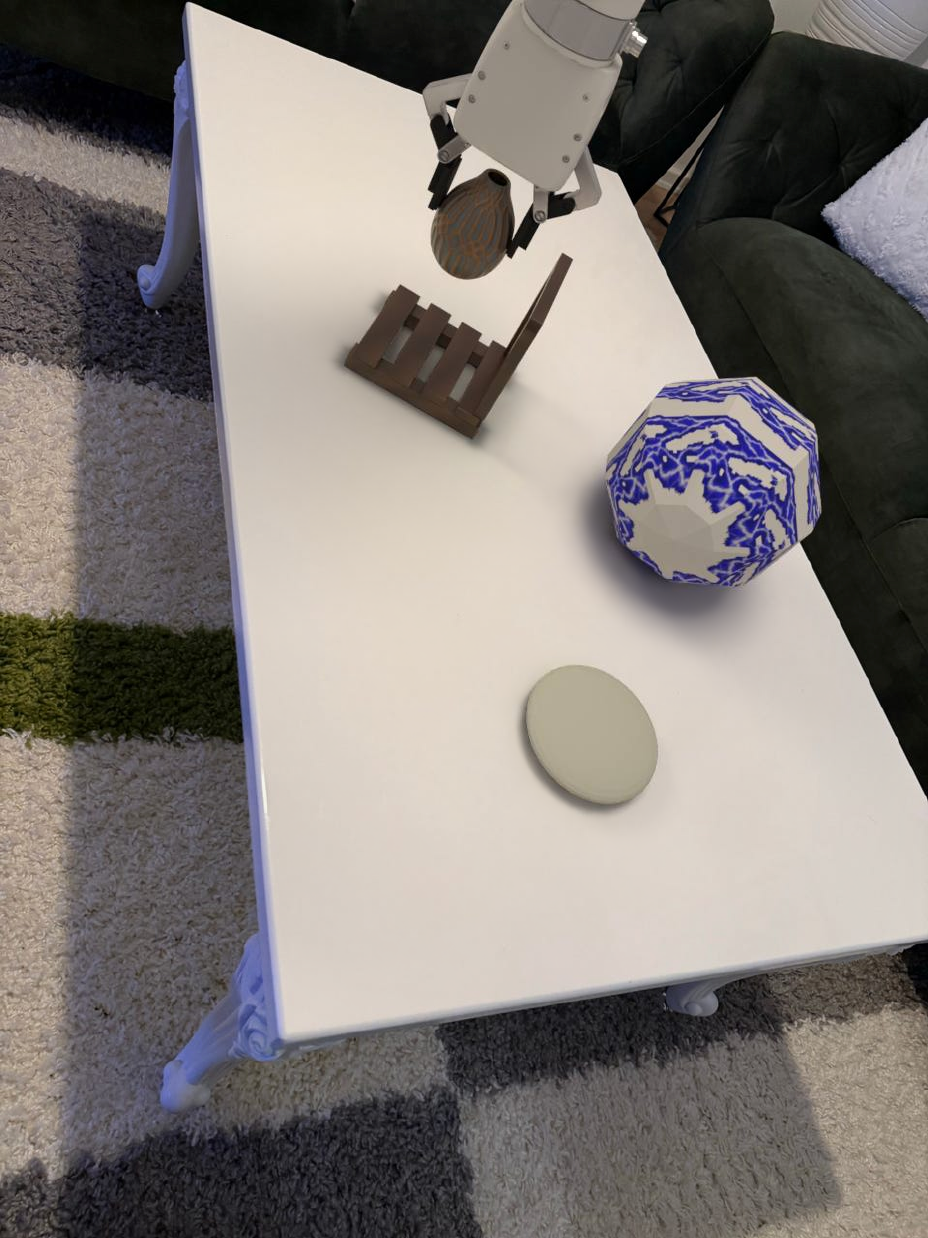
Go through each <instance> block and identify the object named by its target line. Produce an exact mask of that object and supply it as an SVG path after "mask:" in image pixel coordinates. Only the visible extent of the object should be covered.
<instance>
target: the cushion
mask: <svg viewBox="0 0 928 1238" xmlns="http://www.w3.org/2000/svg"><path fill="white" fill-rule="evenodd" d="M525 721H526V723H525V724H526V729H527V735H528V738H529V742H530V744H531V747H532V750H533V752H534V753H535V754H534V755H535V756H536V757H537V760H538V761H539V762H540V764H541V766H542V767H543V769H544V770H545V771H546V772H547V773H548V775H549V776H550V777H551V778H552V779H553V780H554V781H555V782H556V783H557V784H559V786H561V787H562V788H563V789H564V790H566V791H568V792H569V793H571V794H572V795H574V796H576V797H578V798H580V799H583V800H586V801H588V802H592V803H596V804H604V805H611V804H612V805H614V804H619V803H624V802H627V801H629V800H632V799H633V798H635V797H637V796H639V795H640V794H641V793H642V792H643V791H644V790H645V789H646V788H647V786H648V785H649V784H650V782H651V781H652V779H653V777H654V775H655V772H656V769H657V764H658V757H659V748H658V747H659V745H658V738H657V735H656V730H655V727H654V725H653V722H652V719H651V718H650V714H649V713H648V712H647V710H646V708H645V706H644V704H643V703H642V702H641V701H640V699H639V698H638V697H637V696H636V694H635V693H634V692H633V691H632V690H631V689H630V688H629V687H628V686H627V685H626V684H624V683H623V682H622V681H621V680H620V679H618V678H617V677H615V676H614V675H612V674H611V673H608V672H606V671H604V670H602V669H599V668H597V667H594V666H590V665H582V664H569V665H563V666H559V667H557V668H555V669H552V670H550V671H548V672H546V673H545V674H544V675H543V676H542V677H540V679H539V680H537V683H536V684H535V685H534V687H533V689H532V690H531V692H530V695H529V697H528V701H527V705H526V713H525Z"/></svg>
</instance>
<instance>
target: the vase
mask: <svg viewBox="0 0 928 1238" xmlns="http://www.w3.org/2000/svg"><path fill="white" fill-rule="evenodd" d="M511 190H512V183H511V180H510V178H509V177H508V176H507V174H505V173H504V172H502V171H501V170H499V169H497V168H491V167H490V168H486V169H485V170H483V171H482V172H481V173H480V174H478V175H477V176H475V177H473V178H469V179H468V180H465V181H463V182H460V183H458V184H457V185H455V186H454V187H453V188H452V189H451V190H449V191H448V193H447V195H446V196H445V198H444V199H443V200H442V202H441V204H440V205H439V207H438V208H437V210H435V213H434V216H433V220H432V222H431V228H430V247H431V251H432V254H433V256H434V258H435V260H436V262H437V264H438V266H439V267H440V268H441V269H442V270H443V271H444V272H445V273H447V274H448V275H450V276H451V277H453V278H456V279H458V280H463V281H469V280H477V279H480V278H483V277H485V276H487V275H488V274H490V273H491V272H492V271H494V270H495V269H496V268H497V267H498V266H499V265H500V264H501V263H502V261H503V260H504V259H505V257H506V256H507V254H505V253H506V251H507V249H508V247H509V245H510V243H511V241H512V240H513V238H514V235H515V234H514V233H515V227H516V215H515V211H514V210H515V209H514V205H513V200H512V195H511V194H512V193H511V192H512V191H511Z"/></svg>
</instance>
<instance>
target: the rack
mask: <svg viewBox="0 0 928 1238" xmlns="http://www.w3.org/2000/svg"><path fill="white" fill-rule="evenodd" d="M573 261H574V259H573V258H572V257H570V256H569V255H567V254H566V253H565V252H561V254H560V256H559V257H558V259H557V261H556V262H555V264H554V266H553V267H552V269H551V271H550V272H549V274H548V276H547V278H546V279H545V281H544V283H543V285H542V286H541V288H540V289H539V291H538V293H537V294H536V296H535V298H534V300H533V302H532V303H531V305H530V306H529V308H528V310H527V312H526V313H525V315H524V317H523V318H522V320H521V322H520V324H519V325H518V327H517V328H516V330H515V332H514V334H513V335H512V337H511V339H510V341H509V342H508V344H507V346H504V345H503V344H500V343H499V342H498V341H495V340H494V339H492V340H491V342H490V343H489V345H487V344H485V343H483V342H481V340H480V339H481V337H482V336H483V333H482V332H480V331H479V330H477V329H476V328H474V327H473V326H471V325H469V324H467V323H465V322H464V321H461V322H460V324H459V326H458V327H457V326H454V324H452V323H450V320H451V318H452V314H451V313H449V312H448V311H446V310H444V309H443V308H441V307H440V306H438V305H436V304H435V303H433V302H431V303H430V304H429V305H428V307H427V308H425V307H423V306H422V305H420V304H418V303H419V302H420V300H421V298H422V297H421V295H419V294H418V293H416V292H414V291H413V290H411V289H409V288H407V287H406V286H404V285H403V284H401V283H400V284H398V285H397V288H396V289H392V290H391V292H390V294H389V295H388V296H387V298H386V299H385V301H384V304H383V305H382V306H383V307H382V308H381V311H380V312H379V313H378V315H377V316H376V318H375V319H374V320H373V322H372V324H371V325H370V326H369V328H368V329H367V331H365V334H364V335H363V336H362V338H361V340H360V341H359V342H355V343H354V345H353V347H352V348H351V349H350V351H348V354H347V356H346V359H345V361H344V364H343V365H344V366H345V367H347V368H348V369H350V370H351V371H353V372H355V373H357V374H359V375H361V376H362V377H364V378H366V379H368V380H369V381H371V382H373V383H374V384H376V385H378V386H379V387H381V388H383V389H385V390H387V391H388V392H390V393H392V394H393V395H395V396H397V397H398V398H399V399H402V400H403V401H406V402H407V403H408V404H411V406H414V407H416V408H417V409H419V410H421V411H423V412H425V413H426V414H428V415H429V416H431V417H434V418H435V419H436V420H438V421H440V422H442V423H443V424H445V425H447V426H448V427H450V428H451V429H454V430H455V431H457V432H459V433H461V434H462V435H464V436H466V437H468V438H469V439H471V440H473V439H474V438H475V436H476V435H477V433H478V431H479V430H480V428H481V425H482V423H483V422H484V421H485V420H486V418H487V416H488V415H489V413H490V412H491V410H492V409H493V407H494V405H495V404H496V402H497V401H498V398H499V397H500V395H501V394H502V392H503V391H504V389H505V387H506V385H507V384H508V383H509V381H510V379H511V378H512V376H513V374H514V373H515V371H516V369H517V368H518V366H519V365H520V363H521V361H522V360H523V358H524V357H525V355H526V353H527V352H528V350H529V348H530V346H531V345H532V344H533V342H534V341H535V339H536V337H537V335H538V334H539V332H540V330H541V329H542V327H543V326H544V324H545V321H546V320H547V317H548V314H549V313H550V311H551V308H552V307H553V304H554V303H555V300H556V297H557V295H558V293H559V291H560V289H561V287H562V285H563V283H564V281H565V278H566V276H567V275H568V272H569V270H570V268H571V265H572V264H573ZM404 326H407V327H408V328H410V329H412V330H413V331H412V333H410V335H409V337H408V339H407V340H406V341H405V343H404V345H403V347H402V348H401V349H400V351H399V353H398V354H397V356H396V357H395V359H394V361H393V362H392V361H389V360H387V359H386V358H385V357H384V356H385V354H386V353H387V351H388V350H389V349H390V347H391V345H392V344H393V342H394V341H395V340H396V337H397V336H398V334H399V333H400V332H401V330H402V328H403V327H404ZM436 344H438V345H439V346H441V347H442V348H444V349H445V350H444V352H443V354H442V355H441V357H440V358H439V361H438V362H437V364H436V366H435V367H434V369H433V371H432V373H431V374H430V376H429V378H428V379H427V382H425V381H424V380H422V379H420V378H418V377H417V376H418V375H419V372H420V371H421V369H422V367H423V366H424V364H425V362H426V361H427V359H428V357H429V356H430V354H431V352H432V351H433V349H434V347H435V346H436ZM468 363H469V364H471V365H472V366H474V367H475V368H476V371H475V372H474V373H473V376H472V378H471V379H470V381H469V384H468V385H467V387H466V390H465V391H464V393H463V395H462V397H461V399H460V400H459V401H457V400H456V399H454V398H453V397H451V396H450V395H451V393H452V391H453V389H454V387H455V386H456V384H457V382H458V380H459V378H460V376H461V375H462V372H463V370H464V369H465V367H466V365H467V364H468Z"/></svg>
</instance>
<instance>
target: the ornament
mask: <svg viewBox="0 0 928 1238" xmlns="http://www.w3.org/2000/svg"><path fill="white" fill-rule="evenodd" d="M604 472H605V473H604V478H605V479H604V480H605V483H606V490H607V493H608V498H609V503H610V509H611V513H612V518H613V523H614V528H615V534H616V538H617V539H618V540H619V541H620V543H621V544H622V545H623V546H624V547H625V548H626V549H628V550H629V551H630V552H631V553H632V554H633V555H634V556H636V558H638V559H640V560H641V561H642V562H643V563H644V564H646V565H647V566H648V567H649V568H650V569H651V570H653V571H654V572H655V573H656V574H658V575H659V576H660V577H661V578H662V579H664V580H665V581H668V582H670V583H681V584H695V585H706V586H718V587H729V588H730V587H731V588H741V587H742V586H744V585H746V584H748V583H749V582H751V581H753V580H755V579H756V578H757V577H758V576H760V575H761V574H763V573H764V572H765V571H766V570H768V568H770V567H771V566H772V565H773V564H774V563H776V562H777V561H779V559H781V558H782V557H783V556H784V555H786V554H787V553H788V552H789V551H791V550H792V549H793V548H794V547H796V546H797V545H799V543H801V541H803V540H804V539H805V538H806V537H808V536H809V535H810V534H811V533H812V532H813V530H814V528H815V526H816V524H817V522H818V520H819V518H820V516H821V514H822V499H821V482H820V461H819V444H818V435H817V430H816V427H815V423H813V422H812V421H811V420H809V419H808V418H807V417H805V416H804V415H803V414H802V413H801V412H800V411H798V410H797V409H796V408H795V407H793V406H792V405H791V404H790V403H789V402H787V401H786V400H785V399H784V398H783V397H781V396H780V395H779V394H778V393H776V392H775V391H774V390H773V389H772V388H770V387H769V386H768V385H767V384H766V383H764V382H763V381H762V380H761V379H759V378H758V377H757V376H748V377H746V376H745V377H728V378H709V379H708V378H707V379H706V378H705V379H688V380H687V379H686V380H681V381H676V382H675V381H674V382H671V383H666V384H665V385H664V386H663V387H662V388H661V389H660V391H658V392H657V394H656V395H655V397H653V399H652V400H651V401H650V402H649V404H648V405H647V406H646V407H645V408H644V410H643V411H642V412H641V413H640V414H639V416H638V417H637V418H636V420H635V421H634V422H633V423H632V425H630V427H629V428H628V429H627V431H626V432H625V433H624V434H623V436H621V438H620V439H619V440H618V441H617V442H616V444H615V445H614V446H613V448H612V449H611V450H610V452H609V453H608V454H607V455H606V465H605V471H604Z"/></svg>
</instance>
